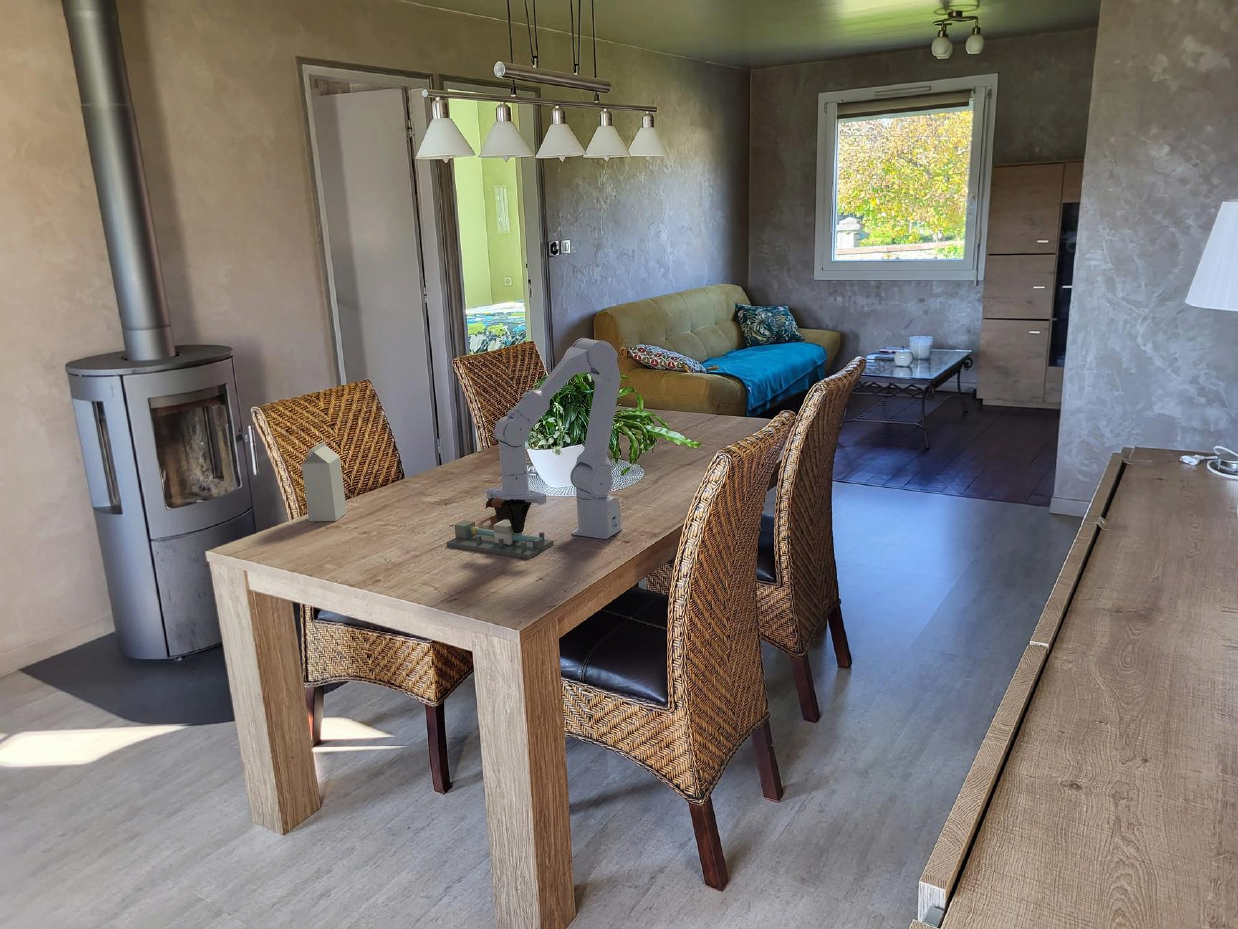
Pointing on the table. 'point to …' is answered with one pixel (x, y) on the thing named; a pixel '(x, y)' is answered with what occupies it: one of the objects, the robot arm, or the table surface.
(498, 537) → the sleeve
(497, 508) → the pottery mug
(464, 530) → the miniature lathe model
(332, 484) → the milk carton
